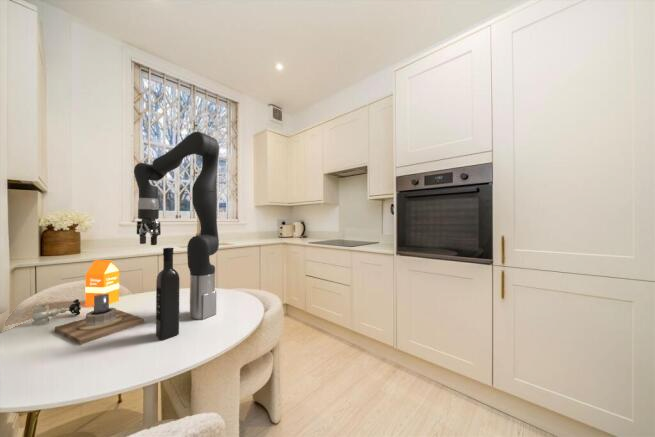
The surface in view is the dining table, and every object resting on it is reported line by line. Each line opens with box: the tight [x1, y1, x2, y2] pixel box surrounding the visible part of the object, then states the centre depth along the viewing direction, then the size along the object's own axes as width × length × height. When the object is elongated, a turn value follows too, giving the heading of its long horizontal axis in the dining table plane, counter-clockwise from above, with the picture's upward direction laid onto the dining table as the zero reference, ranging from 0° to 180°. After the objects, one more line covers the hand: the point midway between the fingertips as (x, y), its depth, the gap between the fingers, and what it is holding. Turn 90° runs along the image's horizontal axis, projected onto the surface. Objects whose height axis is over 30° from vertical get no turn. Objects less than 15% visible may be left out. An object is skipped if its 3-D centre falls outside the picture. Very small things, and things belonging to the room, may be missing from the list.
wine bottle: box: [155, 247, 180, 341], centre depth 82 cm, size 6×6×30 cm
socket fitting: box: [54, 307, 145, 346], centre depth 88 cm, size 20×18×6 cm
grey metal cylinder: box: [93, 293, 110, 315], centre depth 88 cm, size 4×4×10 cm
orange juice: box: [84, 259, 120, 307], centre depth 112 cm, size 8×9×20 cm
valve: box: [32, 298, 81, 327], centre depth 93 cm, size 7×7×12 cm
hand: (148, 244), depth 108 cm, fingers open, 8 cm apart
